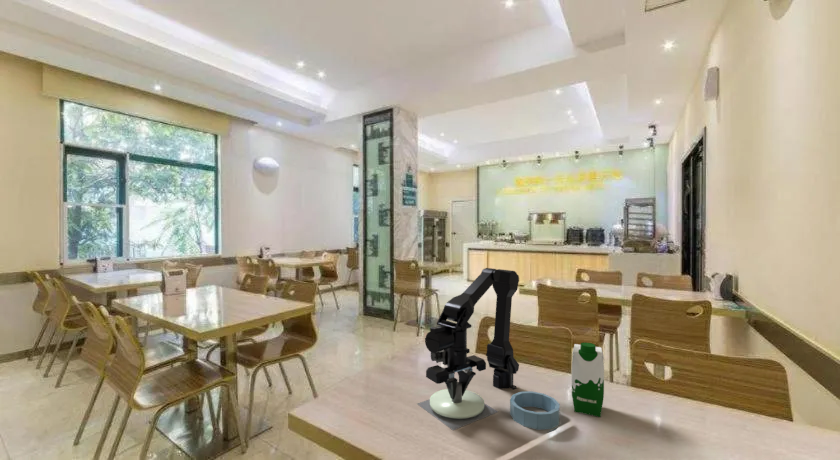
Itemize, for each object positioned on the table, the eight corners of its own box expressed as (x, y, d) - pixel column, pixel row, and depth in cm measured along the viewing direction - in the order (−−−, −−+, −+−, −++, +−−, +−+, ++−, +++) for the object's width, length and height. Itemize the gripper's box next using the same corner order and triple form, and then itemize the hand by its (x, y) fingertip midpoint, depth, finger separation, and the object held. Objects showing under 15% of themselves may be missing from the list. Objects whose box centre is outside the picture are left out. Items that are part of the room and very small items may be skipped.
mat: (459, 392, 119) (460, 389, 119) (498, 414, 105) (498, 411, 105) (416, 406, 110) (416, 403, 110) (452, 433, 96) (452, 430, 96)
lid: (459, 387, 118) (459, 368, 118) (496, 407, 105) (496, 387, 105) (419, 400, 109) (419, 380, 109) (453, 424, 96) (453, 402, 96)
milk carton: (570, 412, 106) (571, 344, 106) (572, 399, 115) (572, 336, 114) (604, 419, 103) (605, 349, 102) (603, 405, 111) (603, 339, 111)
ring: (530, 403, 112) (530, 387, 112) (568, 423, 101) (569, 405, 101) (501, 416, 104) (501, 399, 104) (538, 438, 94) (539, 419, 94)
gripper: (462, 332, 119) (462, 379, 119) (415, 343, 108) (415, 395, 109) (487, 341, 110) (487, 393, 110) (437, 354, 99) (437, 410, 100)
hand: (456, 397), depth 107 cm, fingers closed on lid, 3 cm apart
